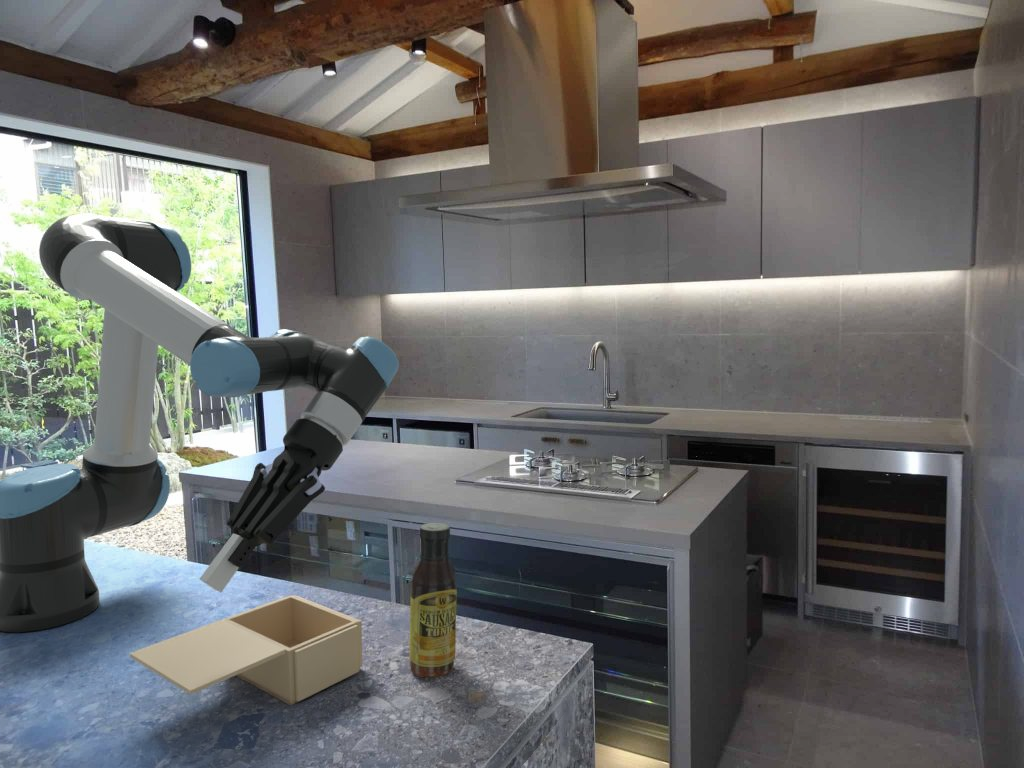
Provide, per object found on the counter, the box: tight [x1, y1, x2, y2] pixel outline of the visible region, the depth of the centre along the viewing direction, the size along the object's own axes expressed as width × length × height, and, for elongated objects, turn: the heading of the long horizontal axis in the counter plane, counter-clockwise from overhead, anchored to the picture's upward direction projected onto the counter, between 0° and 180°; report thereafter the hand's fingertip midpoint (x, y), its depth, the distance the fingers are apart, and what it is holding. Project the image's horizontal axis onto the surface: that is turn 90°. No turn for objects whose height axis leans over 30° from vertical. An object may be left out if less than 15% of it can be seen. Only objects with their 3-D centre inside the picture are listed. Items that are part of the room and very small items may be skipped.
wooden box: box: [223, 594, 363, 707], centre depth 98 cm, size 16×12×7 cm
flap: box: [129, 619, 285, 696], centre depth 88 cm, size 14×1×12 cm
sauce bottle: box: [408, 522, 458, 679], centre depth 97 cm, size 7×6×20 cm
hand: (210, 585), depth 88 cm, fingers closed
